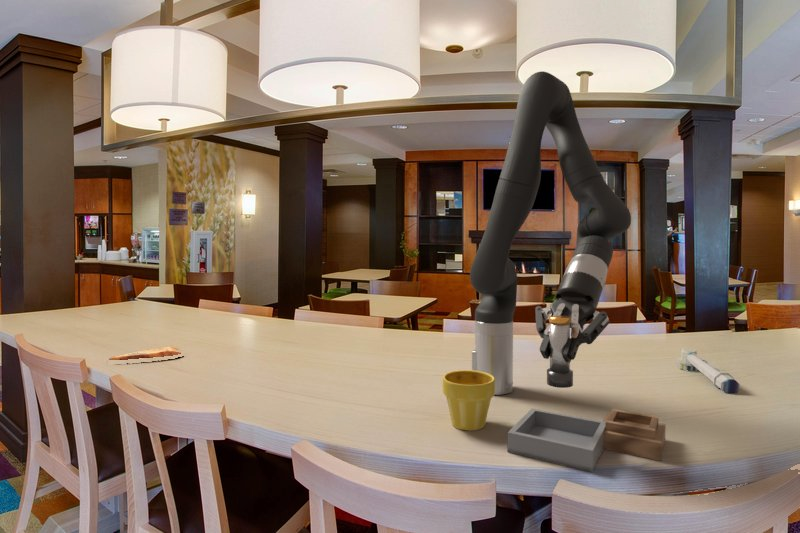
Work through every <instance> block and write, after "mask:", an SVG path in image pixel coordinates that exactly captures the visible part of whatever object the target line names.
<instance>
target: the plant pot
mask: <svg viewBox="0 0 800 533" xmlns="http://www.w3.org/2000/svg"><path fill="white" fill-rule="evenodd" d="M442 394H443V395H444V396H445V397H446V402H447V407H448V412H449V416H450V422H451V425H452V426H453V427H454V428H456V429H458V430H462V431H467V430H468V431H478V430H481V429H483V428H484V427H485V425H486V422H487V418H488V412H489V409H490V404H491V402H492V398H493V397H494V396H495V395H494V394H495V378H494V377H493V376H492V375H490V374H488V373H485V372H481V371H474V370H472V369H471V370H470V369H467V370H466V369H462V370H461V369H459V370H452V371H449V372H446V373H445V374H443V376H442Z"/></svg>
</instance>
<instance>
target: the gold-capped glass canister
mask: <svg viewBox="0 0 800 533" xmlns="http://www.w3.org/2000/svg"><path fill="white" fill-rule="evenodd" d="M548 322H549V323H550V356H549V368H547V369H546V385H548V386H549V387H552V388H557V389H558V388H559V389H561V388H562V389H563V388H564V389H566V388H567V389H568V388H572V387H573V386H574V371H573V370H572V369H571V362H565V360H564V358H563V352H564V350H565V347H566V344H567V341H568V339H569V338H571V328H570V317H569V316H553V315H549V317H548ZM549 323H548V324H549Z"/></svg>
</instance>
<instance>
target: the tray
mask: <svg viewBox="0 0 800 533" xmlns="http://www.w3.org/2000/svg"><path fill="white" fill-rule="evenodd" d="M605 426H606V422H604V421H603V420H598V419H592V418H588V417H583V416H577V415H570V414H566V413H560V412H554V411H550V410H542V409H538V408H537V409H536V408H533V407H532V408H530V409H529V410H528V412H527V413H526V414H525V415H524V416H522V417H521V419H520V420H519V421H517V422H516V423H515V425H513V427H512V428H510V430H509V431H508V432H507V452H508V453H510V454H515V455H518V456H522V457H527V458H532V459H536V460H540V461H544V462H548V463H553V464H556V465H557V464H558V465H561V466H565V467H570V468H574V469H576V470H577V469H578V470H581V471H586V472H590V473H591V472H592V473H593V472H594V471H595V468H596V466H597V463H598V462H599V459H600V457H601V455H602V453H603V451H604V450H605V449H604V431H605Z"/></svg>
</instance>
